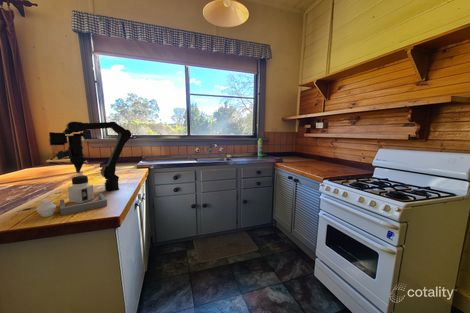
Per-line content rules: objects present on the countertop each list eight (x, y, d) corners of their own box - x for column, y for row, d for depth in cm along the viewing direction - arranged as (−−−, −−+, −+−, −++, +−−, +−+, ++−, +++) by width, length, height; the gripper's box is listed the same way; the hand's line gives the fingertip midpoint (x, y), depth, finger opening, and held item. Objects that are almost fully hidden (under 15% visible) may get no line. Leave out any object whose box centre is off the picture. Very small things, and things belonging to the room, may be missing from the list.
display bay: (102, 198, 105) (101, 193, 105) (107, 205, 96) (106, 199, 95) (60, 206, 94) (59, 200, 94) (61, 215, 84) (60, 208, 84)
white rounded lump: (60, 212, 87) (59, 197, 86) (48, 218, 81) (46, 202, 80) (46, 212, 87) (44, 197, 86) (33, 218, 81) (30, 202, 80)
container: (94, 198, 105) (92, 175, 103) (78, 203, 98) (76, 178, 96) (84, 196, 107) (82, 173, 106) (68, 201, 100) (66, 177, 99)
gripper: (55, 144, 107) (58, 172, 109) (55, 146, 94) (58, 178, 96) (81, 143, 115) (83, 169, 117) (84, 145, 101) (87, 175, 103)
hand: (78, 172), depth 108 cm, fingers closed
